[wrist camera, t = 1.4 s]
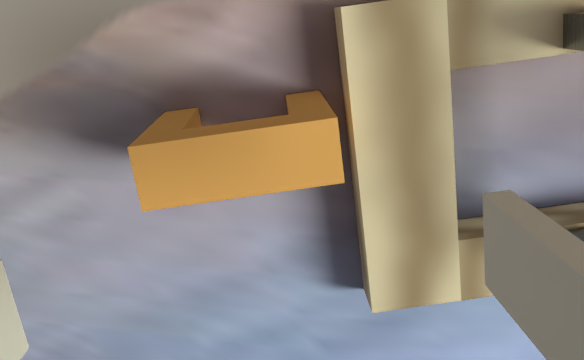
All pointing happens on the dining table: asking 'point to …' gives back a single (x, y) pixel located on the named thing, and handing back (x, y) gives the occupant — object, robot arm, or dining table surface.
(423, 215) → the beige open frame
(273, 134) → the orange u-shaped bracket
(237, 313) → the dining table surface
